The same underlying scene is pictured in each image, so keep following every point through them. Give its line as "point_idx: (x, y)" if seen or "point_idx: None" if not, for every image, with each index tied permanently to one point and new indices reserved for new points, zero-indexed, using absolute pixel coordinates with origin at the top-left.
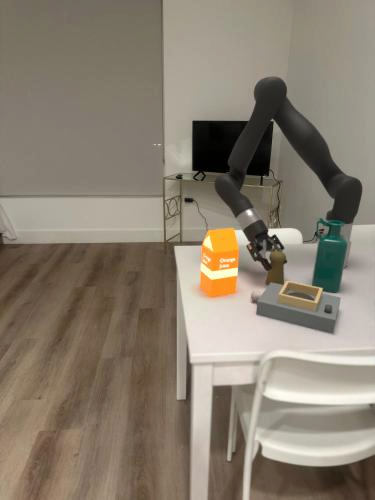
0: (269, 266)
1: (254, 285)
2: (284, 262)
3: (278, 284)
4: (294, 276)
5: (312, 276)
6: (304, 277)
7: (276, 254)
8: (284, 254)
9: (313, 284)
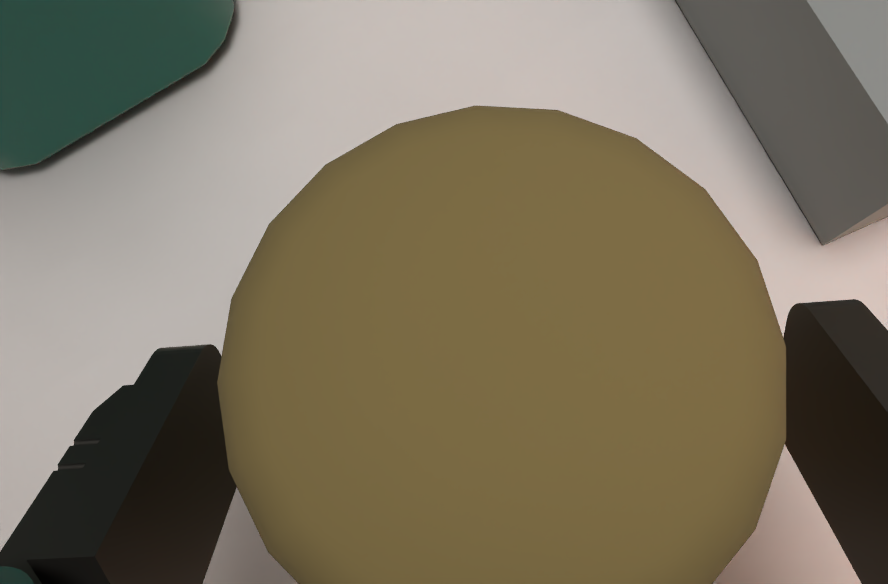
0: (883, 332)
1: (811, 562)
2: (217, 386)
3: (868, 59)
4: (70, 396)
5: (36, 100)
6: (2, 293)
7: (704, 273)
8: (395, 139)
9: (212, 6)
